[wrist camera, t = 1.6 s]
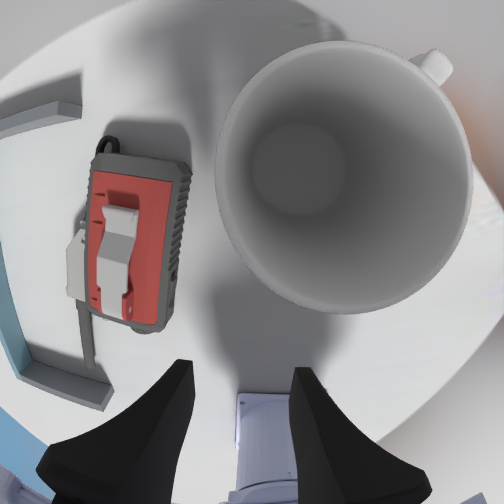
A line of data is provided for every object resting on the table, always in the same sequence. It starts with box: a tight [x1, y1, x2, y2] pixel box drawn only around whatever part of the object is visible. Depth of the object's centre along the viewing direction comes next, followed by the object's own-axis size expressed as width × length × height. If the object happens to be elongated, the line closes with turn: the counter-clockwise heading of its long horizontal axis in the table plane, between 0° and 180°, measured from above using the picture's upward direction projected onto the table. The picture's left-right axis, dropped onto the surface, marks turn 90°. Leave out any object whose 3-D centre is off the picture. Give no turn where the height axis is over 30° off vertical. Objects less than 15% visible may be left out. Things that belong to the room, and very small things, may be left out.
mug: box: [215, 40, 473, 314], centre depth 11 cm, size 10×7×12 cm, turn 141°
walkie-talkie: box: [66, 135, 193, 369], centre depth 18 cm, size 9×4×20 cm
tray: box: [0, 101, 114, 412], centre depth 18 cm, size 26×12×3 cm, turn 177°
